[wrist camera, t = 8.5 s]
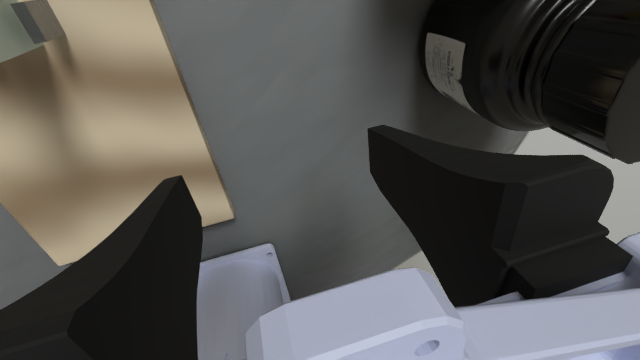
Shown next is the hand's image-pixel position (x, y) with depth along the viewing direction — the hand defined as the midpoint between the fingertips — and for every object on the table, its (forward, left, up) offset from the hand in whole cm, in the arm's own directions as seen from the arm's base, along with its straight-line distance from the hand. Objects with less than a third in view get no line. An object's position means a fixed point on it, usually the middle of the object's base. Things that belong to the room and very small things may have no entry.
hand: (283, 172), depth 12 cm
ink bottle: (+1, -15, -10) cm, 18 cm away
